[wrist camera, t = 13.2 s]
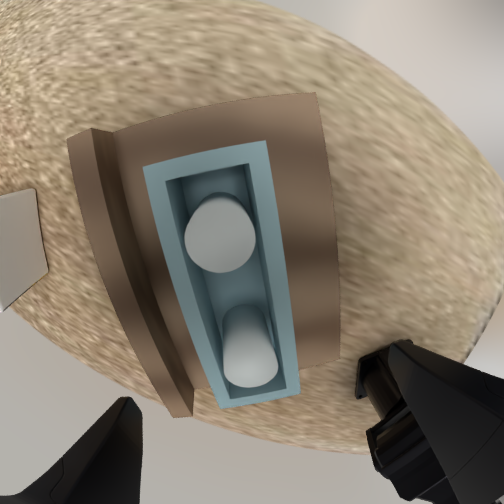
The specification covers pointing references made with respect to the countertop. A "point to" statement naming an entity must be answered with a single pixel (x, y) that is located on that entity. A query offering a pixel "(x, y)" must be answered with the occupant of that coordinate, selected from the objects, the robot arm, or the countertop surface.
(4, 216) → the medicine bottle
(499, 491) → the robot arm
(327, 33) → the countertop surface
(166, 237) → the tray
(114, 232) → the walnut shelf
